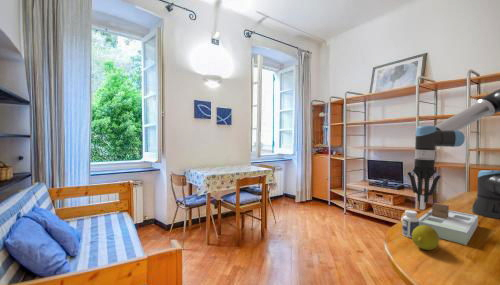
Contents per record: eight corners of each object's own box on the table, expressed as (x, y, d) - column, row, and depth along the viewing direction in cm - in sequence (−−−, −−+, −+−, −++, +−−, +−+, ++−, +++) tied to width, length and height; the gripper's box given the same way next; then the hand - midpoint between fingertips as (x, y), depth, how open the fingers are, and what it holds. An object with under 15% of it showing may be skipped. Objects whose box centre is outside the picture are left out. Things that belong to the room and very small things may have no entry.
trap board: (433, 216, 121) (434, 207, 121) (477, 225, 109) (478, 215, 109) (415, 231, 102) (416, 220, 102) (466, 245, 90) (466, 232, 90)
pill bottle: (419, 235, 98) (420, 211, 97) (416, 239, 94) (418, 214, 93) (403, 231, 101) (404, 208, 101) (400, 235, 97) (401, 211, 97)
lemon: (431, 256, 81) (432, 233, 80) (405, 247, 87) (406, 225, 87) (444, 248, 87) (445, 226, 86) (419, 240, 93) (420, 219, 93)
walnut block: (434, 213, 113) (435, 202, 113) (448, 216, 110) (448, 205, 110) (431, 215, 110) (432, 204, 110) (445, 218, 106) (446, 207, 106)
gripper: (405, 158, 116) (404, 207, 117) (439, 160, 106) (437, 214, 107) (411, 157, 121) (409, 204, 122) (443, 159, 111) (441, 210, 112)
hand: (422, 208), depth 114 cm, fingers closed
